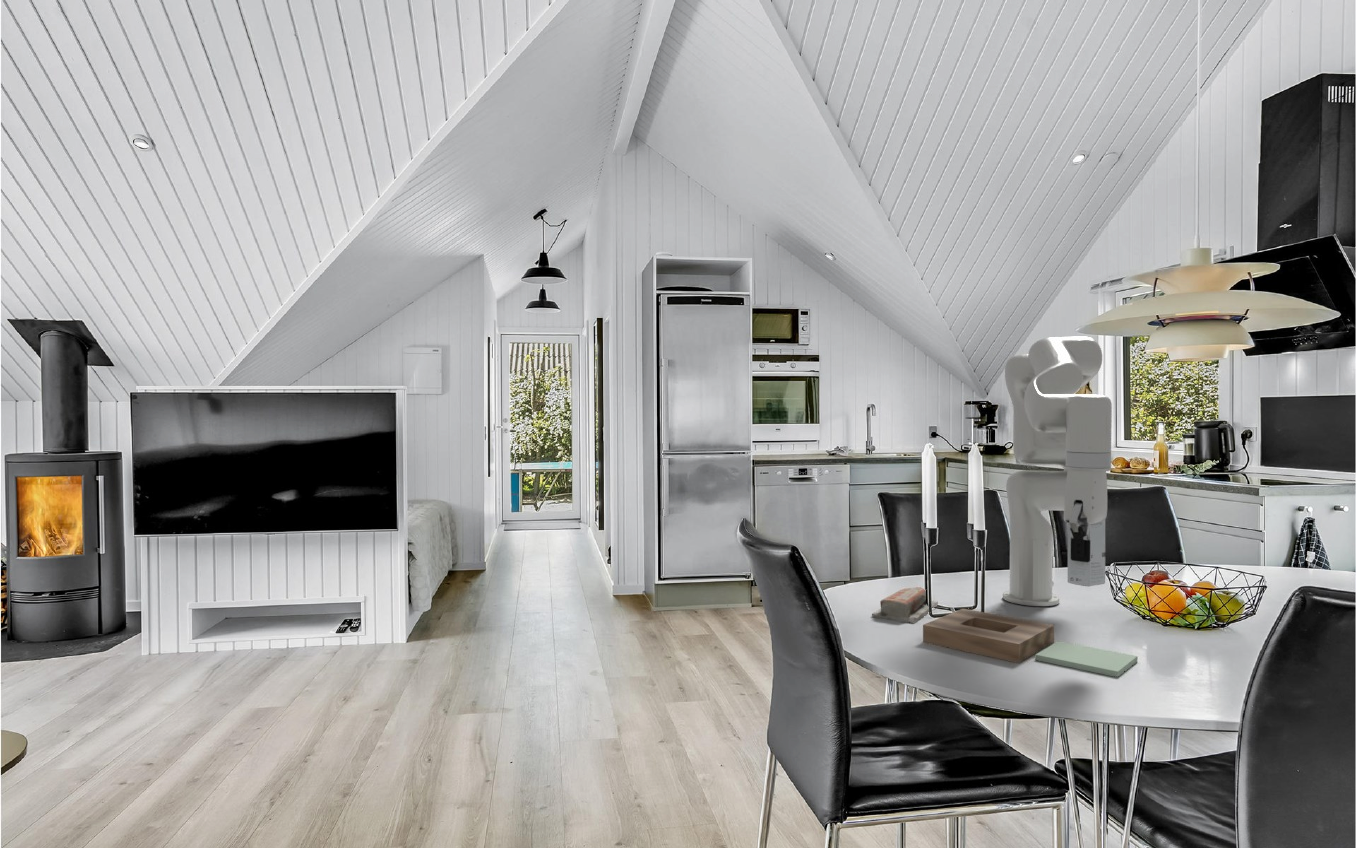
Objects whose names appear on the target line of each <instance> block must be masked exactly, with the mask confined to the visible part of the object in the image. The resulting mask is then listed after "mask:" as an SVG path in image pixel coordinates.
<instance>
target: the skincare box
mask: <svg viewBox="0 0 1356 848" xmlns="http://www.w3.org/2000/svg"><path fill="white" fill-rule="evenodd" d="M1080 522H1086V521H1085V520H1080ZM1067 524H1068V525H1067V583H1068V584H1072V585H1076V586H1081V587H1087V588H1088V587H1093V586H1099V585H1101V586H1102V585H1105V584H1106V519H1103V520H1102V521H1100V522H1098V523H1095V524H1093V525H1090V531H1089V537H1088V540H1090V561H1089V562H1081V561H1073V560H1071V537H1070V535H1071V530H1070V528H1071V526H1070V523H1067ZM1082 528H1083V530H1084V529H1085V527H1082Z"/></svg>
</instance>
